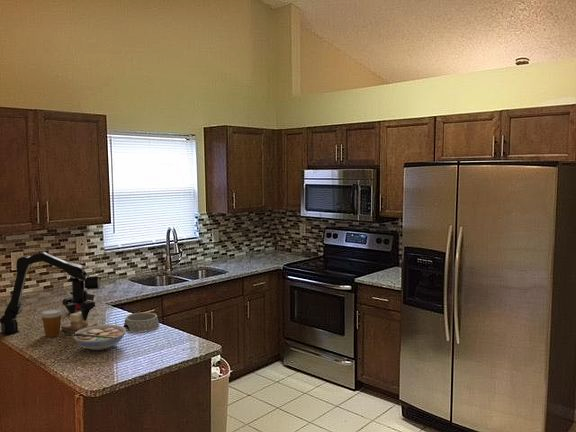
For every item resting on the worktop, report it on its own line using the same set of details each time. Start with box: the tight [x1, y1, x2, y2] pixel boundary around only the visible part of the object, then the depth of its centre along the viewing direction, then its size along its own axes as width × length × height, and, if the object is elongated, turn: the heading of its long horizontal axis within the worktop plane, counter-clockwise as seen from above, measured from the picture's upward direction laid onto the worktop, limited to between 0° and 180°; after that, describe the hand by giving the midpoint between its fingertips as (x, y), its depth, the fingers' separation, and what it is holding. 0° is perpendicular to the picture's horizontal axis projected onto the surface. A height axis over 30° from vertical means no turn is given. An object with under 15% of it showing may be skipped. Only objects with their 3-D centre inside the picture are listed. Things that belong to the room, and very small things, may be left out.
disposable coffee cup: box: [40, 308, 63, 338], centre depth 244 cm, size 10×10×12 cm
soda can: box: [75, 288, 87, 312], centre depth 288 cm, size 7×7×12 cm
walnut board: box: [61, 321, 98, 333], centre depth 254 cm, size 12×12×2 cm
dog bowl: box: [123, 311, 160, 332], centre depth 259 cm, size 17×18×5 cm
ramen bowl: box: [64, 324, 127, 351], centre depth 227 cm, size 25×23×8 cm
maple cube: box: [69, 311, 89, 327], centre depth 254 cm, size 6×6×6 cm
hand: (79, 319), depth 254 cm, fingers open, 9 cm apart
